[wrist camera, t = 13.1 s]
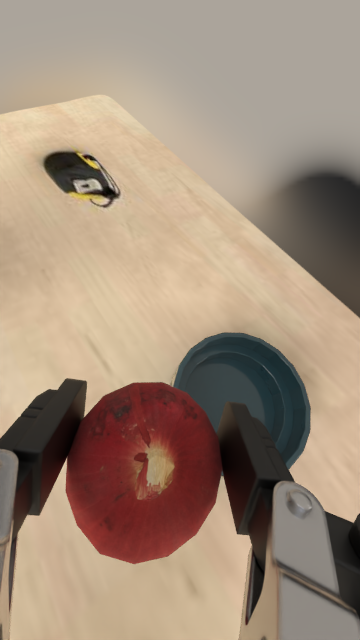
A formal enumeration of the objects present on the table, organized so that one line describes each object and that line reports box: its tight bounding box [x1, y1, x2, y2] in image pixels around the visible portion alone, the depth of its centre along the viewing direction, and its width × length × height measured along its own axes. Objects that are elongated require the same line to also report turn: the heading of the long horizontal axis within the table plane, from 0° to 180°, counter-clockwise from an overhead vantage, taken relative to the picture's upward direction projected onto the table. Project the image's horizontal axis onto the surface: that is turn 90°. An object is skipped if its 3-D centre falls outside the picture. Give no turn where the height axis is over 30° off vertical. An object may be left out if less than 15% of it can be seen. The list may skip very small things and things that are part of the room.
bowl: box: [170, 333, 311, 476], centre depth 25 cm, size 13×13×4 cm
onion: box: [66, 382, 223, 564], centre depth 10 cm, size 6×6×8 cm
